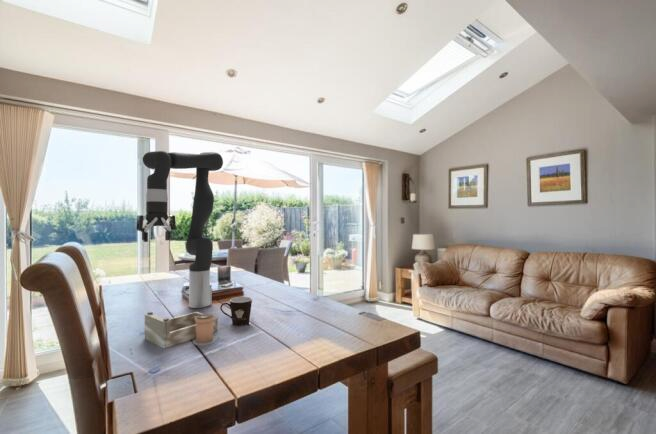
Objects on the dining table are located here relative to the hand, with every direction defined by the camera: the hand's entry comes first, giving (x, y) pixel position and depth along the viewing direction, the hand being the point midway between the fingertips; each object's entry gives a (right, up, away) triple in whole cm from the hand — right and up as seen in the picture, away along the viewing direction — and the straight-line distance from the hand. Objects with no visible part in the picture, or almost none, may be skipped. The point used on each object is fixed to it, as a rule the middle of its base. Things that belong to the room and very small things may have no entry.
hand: (156, 241), depth 125 cm
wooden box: (+16, -33, -13) cm, 39 cm away
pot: (+27, -33, -19) cm, 46 cm away
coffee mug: (+33, -34, 0) cm, 47 cm away
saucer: (+27, -33, -18) cm, 47 cm away
